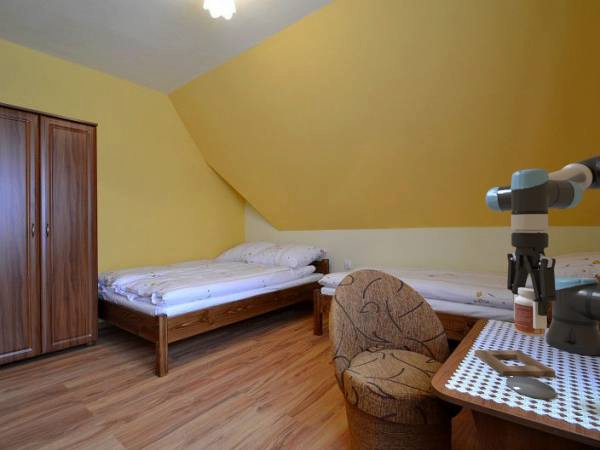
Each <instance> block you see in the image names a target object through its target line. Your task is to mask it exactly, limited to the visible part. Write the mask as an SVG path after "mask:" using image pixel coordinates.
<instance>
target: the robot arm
mask: <svg viewBox="0 0 600 450" xmlns="http://www.w3.org/2000/svg"><path fill="white" fill-rule="evenodd" d="M588 190H590V191H591V190H592V191H593V190H600V154H597V155H594V156H591V157H587V158H585V159H581V160H578V161H576V162H572V163H570V164H568V165H565V166H564V167H562V168H561V169H560V170H557V171H553V172H550V173H549V172H548V170H547V169H544V168H530V169H522V170H518V171H514V173H513V174H512V175H511V183H510V184H509V185H504V186H503V185H502V186H501V185H500V186H495V187H492V188H490V189H489V190H488V191H487V193H486V195H485V203H486V205H487V208H488V209H489V210H491V211H493V212H507V211H508V212H509V211H511V212H510V213H511V216H510V217H511V219H510V230H511V231H513V232H512V233H511V235H510V236H511V237H510V239H511V240H510V241H511V247H514V248H515V250H514V253H512V252H511V253H507V255H506V256H507V257H506V258H507V263H508V264H507V284H506V287H507V290H508V291H511V293H512V294H513V297H512V299H513V301H512V303H513V320H515V298H516V297H518V296H519V294H518V288H521V287H525V288H526V286H527V285H526V284H527V281H528V277H529V275H530V280H531V284H532V288H533V289H534V293H535V298H536V299H533V328H535V329H545V330H547V327H548V323H547V322H548V321H547V319H548V317H547V316H548V314H549V313H548V311H549V310H548V309H549V306H548V304H549V302H551V308H552V309H551V310H552V311H551V315H552V317H551V323H550V325H549V327H548V330H547V332H546V333H545V342H546V343H547V344H548V345H549V346H552V347H554V348H557V350H558V349H559V350H562V351H564V352H565V351H566V352H569V353H573V354H578V355H586V356H600V328H599V322H600V281H599V280H598V278H596V277H578V276H577V277H574V276H573V277H559V278H557V277H556V275H555V274H556V273H555V267H556V262H557V260H556V258H553V257H552V258H551V257H547V255H546V253H545V249H546V248H548V247H549V234H548V233H547V232H546V231H548V230H549V210H567V209H572V208H575V207H576V206H577V205H579V204H580V203H581V202H582V200H583V197H584V191H588Z"/></svg>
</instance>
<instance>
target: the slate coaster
mask: <svg viewBox="0 0 600 450" xmlns="http://www.w3.org/2000/svg"><path fill="white" fill-rule="evenodd" d="M505 383H506V386H507V387H508V388H509V389H510V390H512V391H513V390H514V391H513V392H515V393H517V394H519V395H522V396H525V397H527V398H531V399H537V400H553V399H554V398H556V396H557V393H556V390H555V389H554V388H553V387H552V386H551V385H549V384H548V383H545V382H543V381H541V380H540V379H539V380H538V379H535V378H531V377H521V376H513V377H507V378H506V379H505Z"/></svg>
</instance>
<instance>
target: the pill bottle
mask: <svg viewBox="0 0 600 450" xmlns="http://www.w3.org/2000/svg"><path fill="white" fill-rule="evenodd" d="M518 294H519V296H518V297H516V298H515V319H514V331H515V332H516V333H518V334H520V335H524V336H527V337H536V338H539V337H540V338H541V337H543V336H546V329H535V328H533V299H536V298H535V293H534V289H533V287H526V286H525V287H521V288H518Z"/></svg>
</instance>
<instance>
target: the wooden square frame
mask: <svg viewBox="0 0 600 450" xmlns="http://www.w3.org/2000/svg"><path fill="white" fill-rule="evenodd" d="M474 355H475V357H477V359H480V360H481V361H482V362H483V363H484V364H486V365H487V366H488V367H490V368H491V369H492V370H493V371H495V372H496V373H497V374H499V375H500V376H501V377H503V378H505V376H506V377H507V376H521V377H528V378H531V377H533V378H545V377H546V378H555V377H556V370H554V369H552V368H551V367H548V366H547V365H545V364H544V363H542V362H541V361H540V360H539V361H538V360H537V359H535V358H534V357H532V356H530V355H528V354H527V353H525V352H523V351H522V350H520V349H516V350H514V349H512V350H511V349H506V350H505V349H500V350H498V349H484V350H483V349H482V350H481V349H475V350H474ZM516 359H517V360H516ZM501 360H516V361H520V362H519V363H520V364H523V365H507V364H506V363H504V362H502V361H501ZM507 378H508V377H507Z"/></svg>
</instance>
